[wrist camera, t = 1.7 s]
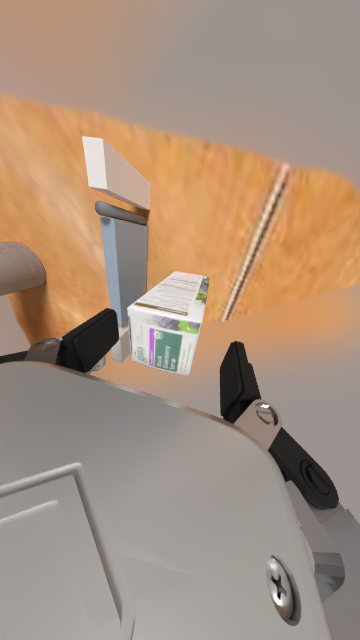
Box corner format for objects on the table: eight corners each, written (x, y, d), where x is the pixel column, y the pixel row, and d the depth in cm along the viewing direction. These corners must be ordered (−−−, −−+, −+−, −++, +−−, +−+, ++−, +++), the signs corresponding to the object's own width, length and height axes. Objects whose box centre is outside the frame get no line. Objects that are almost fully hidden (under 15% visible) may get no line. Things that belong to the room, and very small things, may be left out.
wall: (145, 331, 29) (122, 363, 22) (138, 329, 30) (112, 360, 22) (150, 183, 18) (102, 138, 10) (138, 181, 18) (82, 136, 10)
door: (150, 304, 26) (125, 331, 18) (138, 302, 26) (108, 326, 19) (155, 218, 19) (118, 203, 12) (138, 215, 19) (91, 199, 12)
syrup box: (202, 309, 24) (192, 379, 12) (170, 303, 25) (128, 363, 13) (210, 276, 22) (206, 324, 9) (172, 270, 22) (122, 307, 10)
